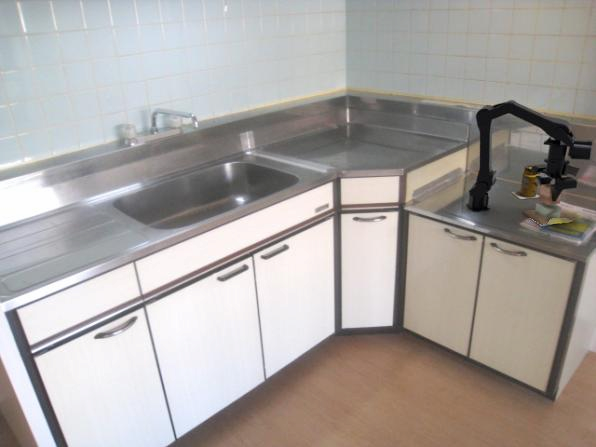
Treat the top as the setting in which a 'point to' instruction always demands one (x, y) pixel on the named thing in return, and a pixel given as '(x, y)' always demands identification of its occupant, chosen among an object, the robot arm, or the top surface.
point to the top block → (547, 195)
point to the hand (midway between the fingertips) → (549, 198)
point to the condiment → (528, 185)
